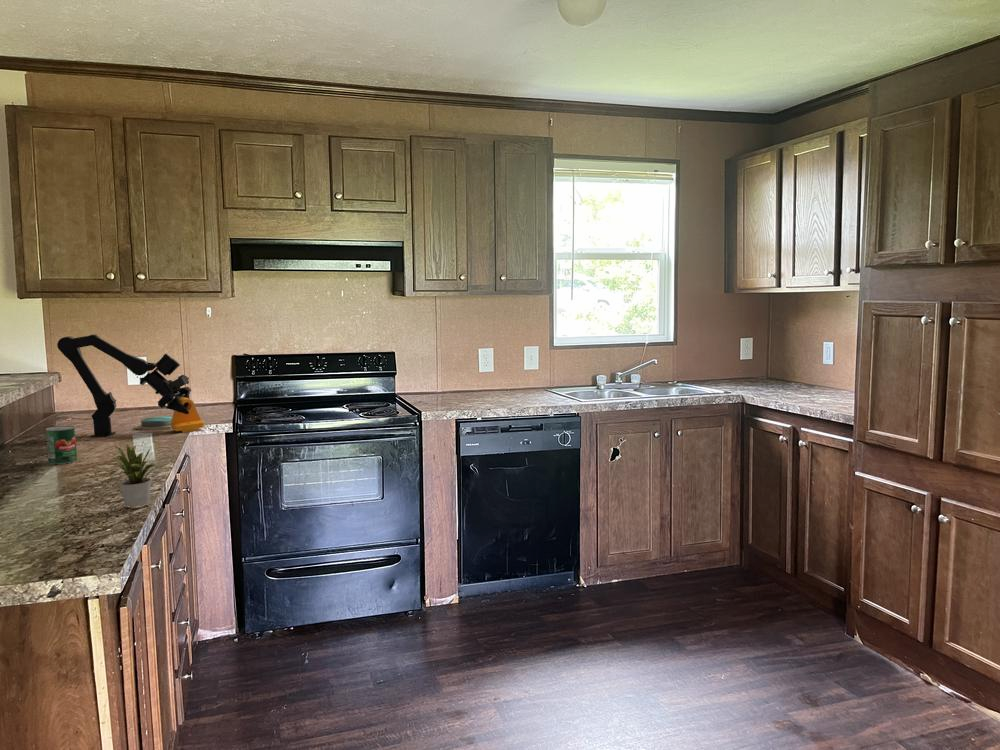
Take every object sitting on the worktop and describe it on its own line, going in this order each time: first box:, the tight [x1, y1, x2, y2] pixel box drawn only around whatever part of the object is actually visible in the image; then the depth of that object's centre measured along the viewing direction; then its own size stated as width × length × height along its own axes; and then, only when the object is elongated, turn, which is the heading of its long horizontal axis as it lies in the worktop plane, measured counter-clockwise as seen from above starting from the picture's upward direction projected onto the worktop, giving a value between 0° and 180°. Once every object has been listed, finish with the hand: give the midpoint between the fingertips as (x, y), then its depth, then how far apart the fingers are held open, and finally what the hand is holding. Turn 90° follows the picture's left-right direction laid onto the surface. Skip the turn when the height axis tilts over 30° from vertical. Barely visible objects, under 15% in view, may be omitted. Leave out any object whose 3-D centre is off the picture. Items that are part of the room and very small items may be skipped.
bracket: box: [171, 397, 205, 433], centre depth 287 cm, size 11×7×12 cm, turn 126°
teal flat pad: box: [134, 415, 173, 430], centre depth 298 cm, size 14×14×3 cm
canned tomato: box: [45, 425, 78, 466], centre depth 236 cm, size 8×8×11 cm
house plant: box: [106, 443, 163, 507], centre depth 184 cm, size 14×14×16 cm
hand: (191, 411), depth 287 cm, fingers open, 6 cm apart
